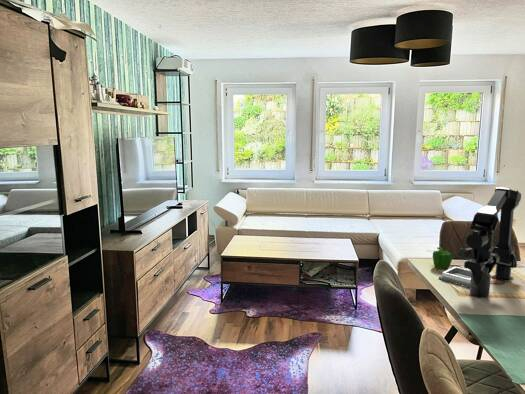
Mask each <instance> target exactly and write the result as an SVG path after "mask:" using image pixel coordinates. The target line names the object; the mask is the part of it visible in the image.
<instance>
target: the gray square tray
mask: <svg viewBox="0 0 525 394" xmlns="http://www.w3.org/2000/svg"><path fill="white" fill-rule="evenodd" d="M441 273H442V274H441V275H440V276H438V280H441V281H445V282H448V283H451V282H453V283H452V284H455V283H457V284H456V285H458V284H460V285H459V286H462V285H463V286H462V287H465V286H467V287H466V288H469V287H470V283H471V274H472V271H471V270H470V269H467V268H464V267H463V268H462V267H459V266H453V267H450V268H448V269H445V271H443V272H441Z"/></svg>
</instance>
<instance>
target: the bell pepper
mask: <svg viewBox="0 0 525 394" xmlns="http://www.w3.org/2000/svg"><path fill="white" fill-rule="evenodd" d="M436 248H437V249H436V250H433V252H432V261H433V265H434V267H435V268H436V269H442V270H449V269H450V268H451V267H450V266H451V263H452V260H453V255H452V253H450V252H449V251H448V250H444V249H443V248H442V247H440V246H439V247H436Z"/></svg>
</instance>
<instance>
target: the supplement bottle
mask: <svg viewBox="0 0 525 394" xmlns="http://www.w3.org/2000/svg"><path fill="white" fill-rule="evenodd" d="M484 269H486V270H485V272H484V274H483V276H482V278H481V280H480V282H479V284H478V285H477V284H475V282H474V278H473V274H471V283H470V288H469V294H470V295H471V296H472V297H474V298H477V299H488V298H489V297H490V292H491V291H490V289H491V279H492V276H491V273H490V274H489V273H488V272H489V267H488V266H485V268H484Z"/></svg>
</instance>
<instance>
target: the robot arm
mask: <svg viewBox="0 0 525 394" xmlns="http://www.w3.org/2000/svg"><path fill="white" fill-rule="evenodd" d="M521 199H522V194H521V192H520V191H519V190H518V189H517V190H515V189H511V188H509V187H499V186H498V187H496V188H495V190H494V193H493V195H492V196H491V198H490V200H489V201H488V202H487V204H486V205H485V206H484V207H482V208H479V210H477V212H476V213H474V216H473V218H472V221H471V225H470V230H472V233H470V234H469V235H468V236H467V237H466V240H465V242H466V245H467V246H468V247H467V248H465V247H464V248H462V247H461V248H459V250H458V252H457V255H458V257H460V259H464V258H466V259H467V258H470V259H469V260H468V259H467V260H466V261H464V262H463V269H467V270H471V271H472V274H473V278H474V282H475V284H477V285H478V284H479V282H480V280H481V278H482V276H483V274H484V272H485V270H486V269H484V268H485V266H488V267H489V272H488V273H489V274H490V275H491V273H492V270H494V268H495V274H493V275H492V276H491V279H492V278H493V279H496V280H500V281H503V282H509V281H511V280H512V279H514V277H513V276H511V273H512V269H515V268H517V266H518V260H517V257H516V254H515V248H514V247H513V244H512V235H513V234H512V232H513V222H514V211H515V210H516V208H517V207H519V204H520V202H521ZM499 212H500V218H499V215H498V214H499ZM498 225H499V231H498V232H499V233H498V241H497V244H496V245H495V246H493V243H494V241H493V238H494V232H495V231H496V229H497V227H498Z"/></svg>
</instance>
